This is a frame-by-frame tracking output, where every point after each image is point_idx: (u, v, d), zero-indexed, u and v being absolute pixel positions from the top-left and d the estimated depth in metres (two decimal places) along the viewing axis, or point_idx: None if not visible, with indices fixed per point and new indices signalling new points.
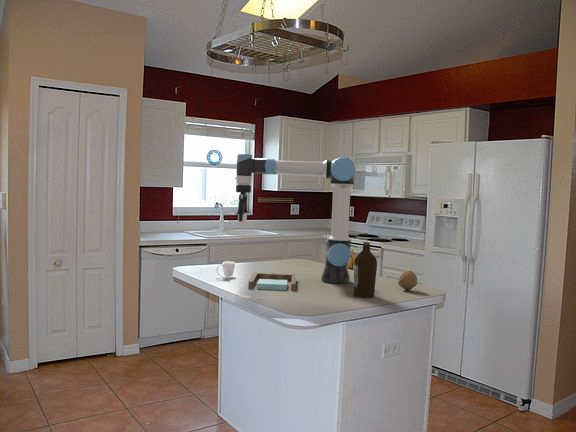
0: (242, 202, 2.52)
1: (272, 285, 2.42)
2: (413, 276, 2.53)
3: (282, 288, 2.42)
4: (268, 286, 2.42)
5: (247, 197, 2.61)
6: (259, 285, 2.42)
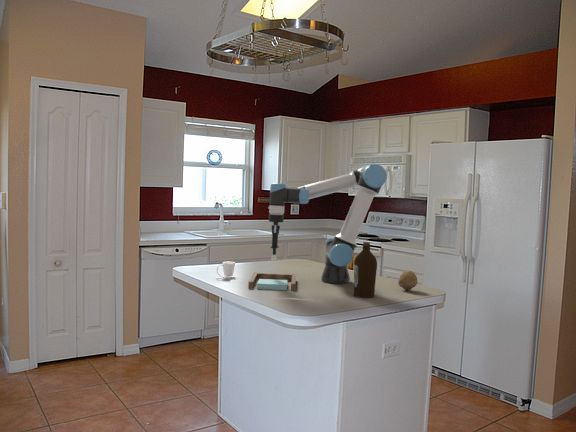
0: (276, 237, 2.53)
1: (272, 285, 2.42)
2: (413, 276, 2.53)
3: (282, 288, 2.42)
4: (268, 286, 2.42)
5: None
6: (259, 285, 2.42)
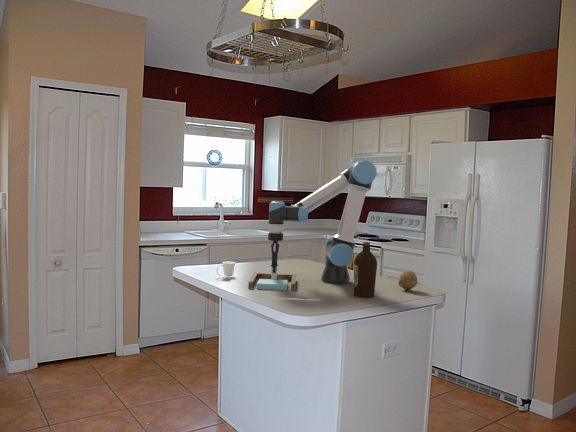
0: (275, 255, 2.54)
1: (272, 285, 2.42)
2: (413, 276, 2.53)
3: (282, 288, 2.42)
4: (268, 286, 2.42)
5: None
6: (259, 285, 2.42)
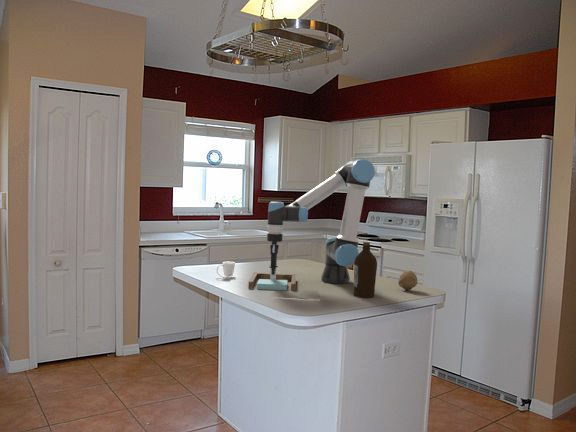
0: (274, 257, 2.48)
1: (272, 285, 2.41)
2: (413, 276, 2.53)
3: (282, 288, 2.41)
4: (268, 286, 2.41)
5: (278, 247, 2.55)
6: (259, 285, 2.42)
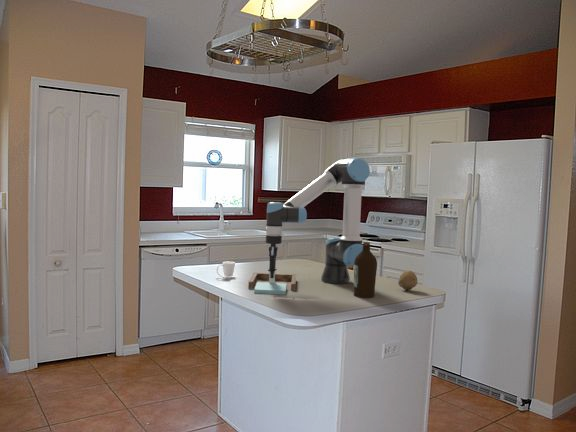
0: (273, 259, 2.39)
1: (270, 291, 2.32)
2: (413, 276, 2.53)
3: None
4: (266, 292, 2.32)
5: (277, 249, 2.45)
6: (256, 291, 2.32)
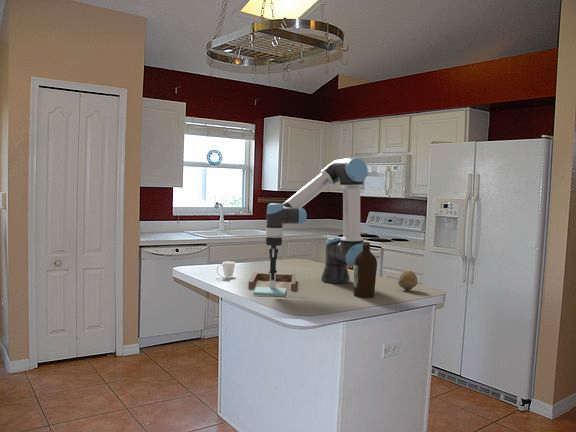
0: (274, 261, 2.36)
1: (269, 294, 2.29)
2: (413, 276, 2.53)
3: None
4: None
5: None
6: (256, 294, 2.29)
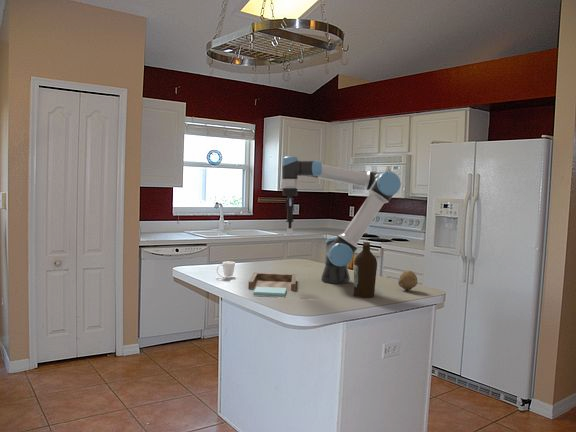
0: (291, 210, 2.53)
1: (269, 293, 2.29)
2: (413, 276, 2.53)
3: None
4: (265, 294, 2.29)
5: None
6: (256, 294, 2.29)
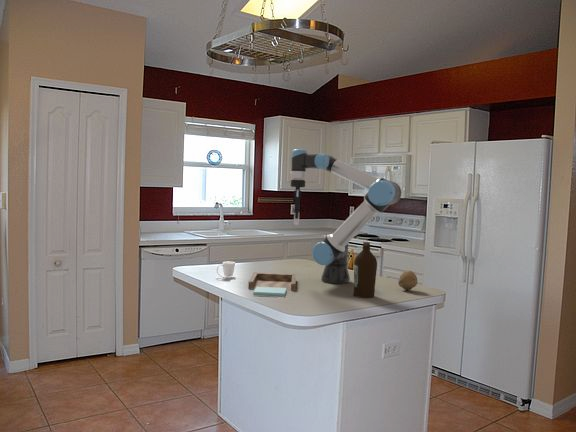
0: (298, 201, 2.63)
1: (269, 293, 2.29)
2: (413, 276, 2.53)
3: None
4: (265, 294, 2.29)
5: None
6: (256, 293, 2.29)
